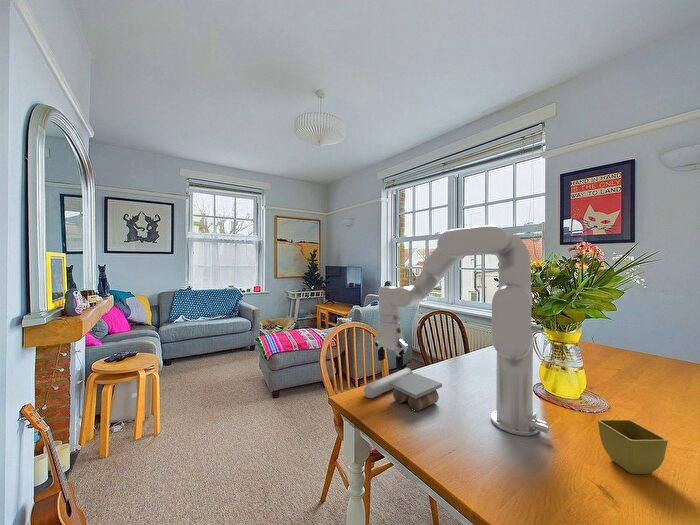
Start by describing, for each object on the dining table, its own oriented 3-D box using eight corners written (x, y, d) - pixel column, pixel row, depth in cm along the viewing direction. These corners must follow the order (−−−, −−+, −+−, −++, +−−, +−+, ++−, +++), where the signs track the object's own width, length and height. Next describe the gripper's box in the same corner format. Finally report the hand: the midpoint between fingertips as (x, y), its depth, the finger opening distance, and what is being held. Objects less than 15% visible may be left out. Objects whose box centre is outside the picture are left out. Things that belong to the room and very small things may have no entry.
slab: (442, 387, 100) (442, 383, 100) (415, 398, 91) (415, 394, 91) (414, 376, 109) (414, 373, 109) (388, 385, 101) (388, 382, 101)
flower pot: (630, 454, 73) (629, 418, 73) (669, 480, 64) (669, 439, 64) (596, 454, 73) (596, 419, 73) (631, 481, 64) (631, 440, 64)
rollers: (438, 404, 98) (438, 390, 98) (419, 414, 92) (419, 398, 92) (411, 392, 108) (411, 378, 108) (392, 399, 102) (392, 385, 102)
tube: (372, 391, 100) (415, 372, 117) (362, 382, 104) (405, 365, 120) (369, 404, 101) (411, 383, 118) (359, 394, 105) (401, 375, 122)
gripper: (413, 320, 106) (414, 366, 105) (380, 314, 119) (381, 355, 119) (399, 322, 101) (400, 371, 101) (367, 317, 115) (368, 359, 115)
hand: (390, 363), depth 110 cm, fingers open, 9 cm apart
